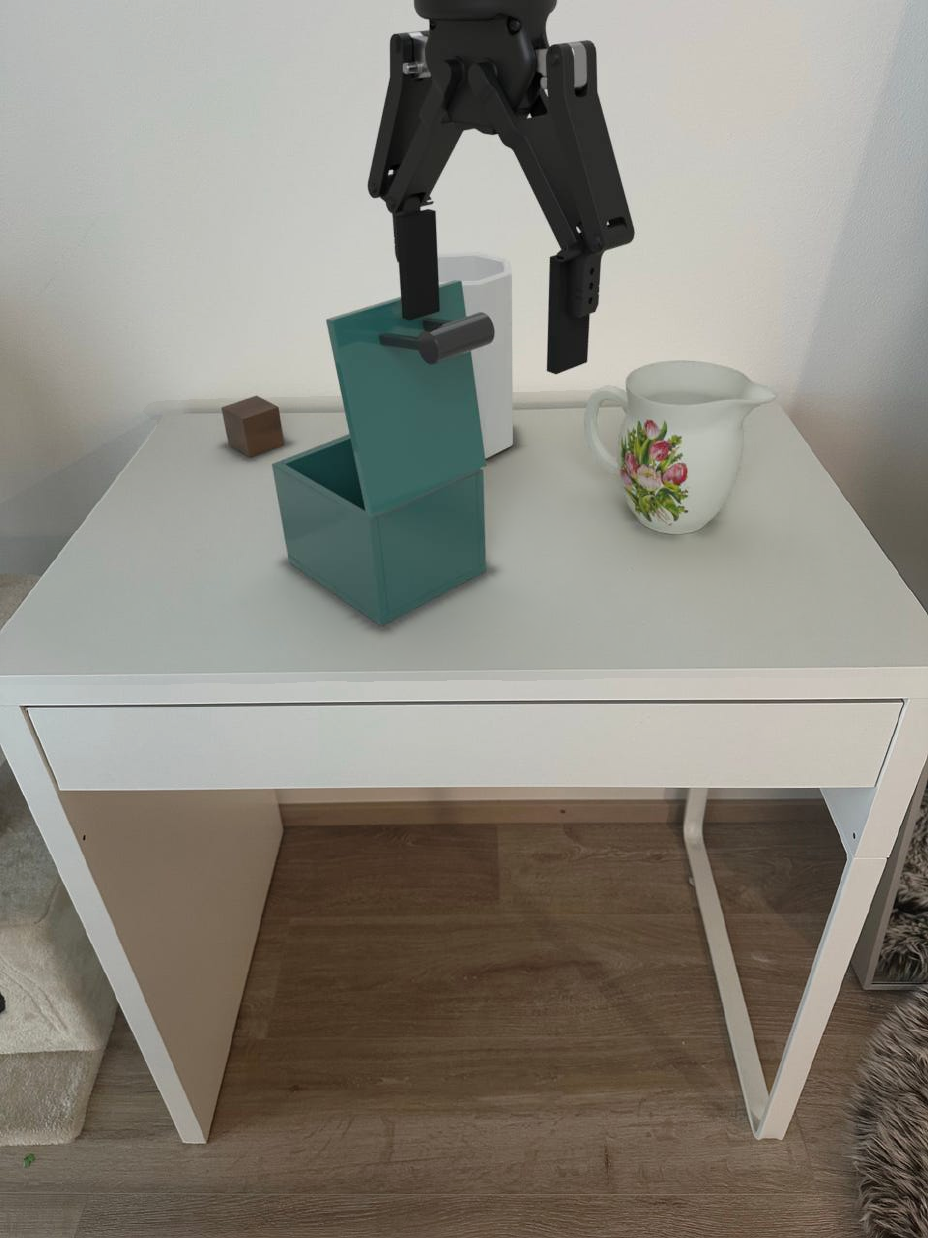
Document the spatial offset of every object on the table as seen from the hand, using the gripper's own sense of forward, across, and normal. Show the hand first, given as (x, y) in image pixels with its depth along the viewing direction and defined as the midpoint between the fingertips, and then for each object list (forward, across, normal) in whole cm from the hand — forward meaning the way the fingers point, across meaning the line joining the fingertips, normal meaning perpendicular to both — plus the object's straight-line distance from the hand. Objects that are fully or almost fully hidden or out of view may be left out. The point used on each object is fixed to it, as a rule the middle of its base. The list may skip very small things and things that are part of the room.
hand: (489, 339), depth 60 cm
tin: (+24, +14, 0) cm, 28 cm away
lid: (+7, +9, 0) cm, 11 cm away
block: (+24, +44, -5) cm, 50 cm away
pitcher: (+24, +3, -25) cm, 35 cm away
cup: (+24, +28, -22) cm, 43 cm away
